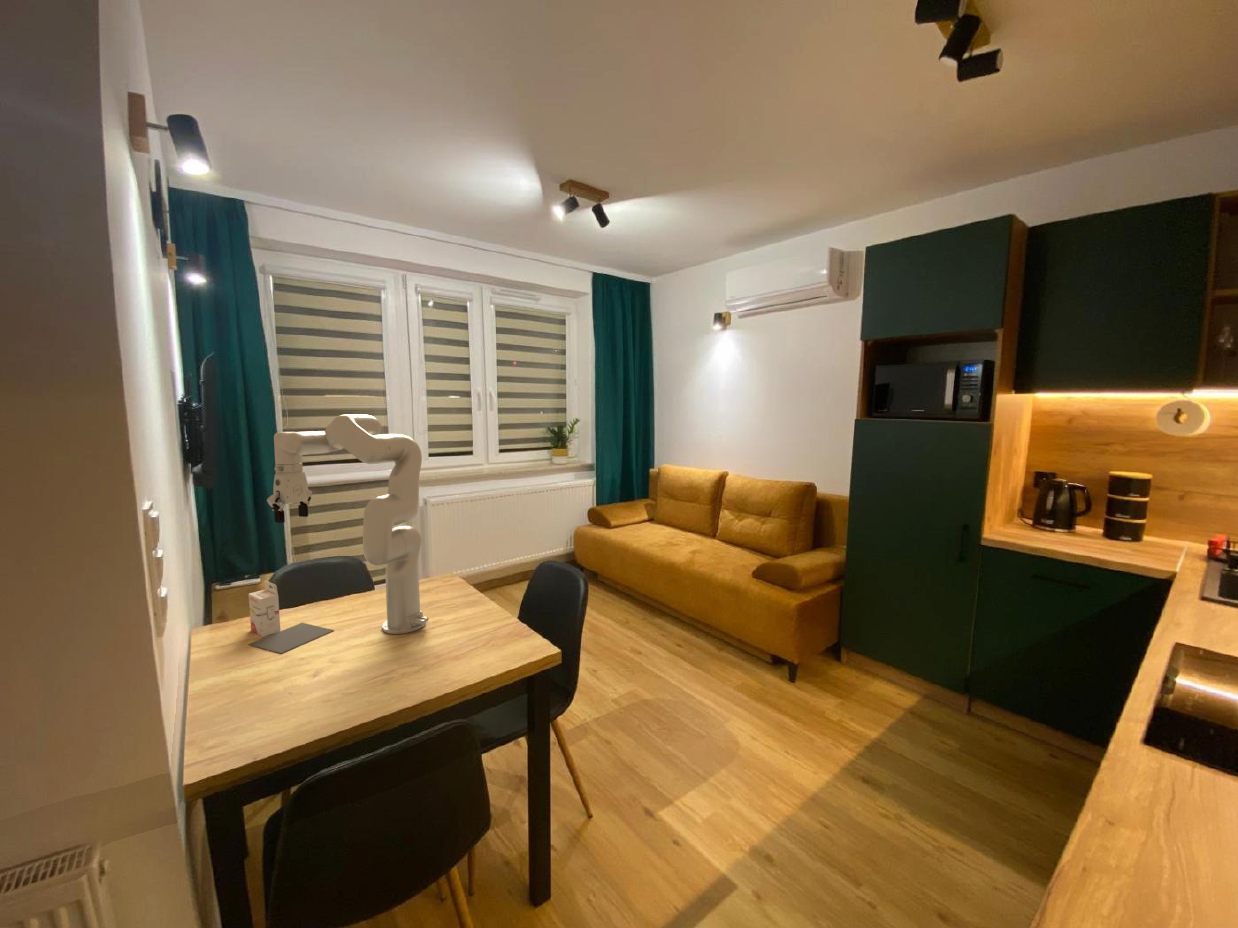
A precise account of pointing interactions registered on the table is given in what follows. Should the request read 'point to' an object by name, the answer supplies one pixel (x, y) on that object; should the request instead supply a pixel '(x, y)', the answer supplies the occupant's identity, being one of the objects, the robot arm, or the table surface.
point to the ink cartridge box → (265, 610)
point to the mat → (291, 638)
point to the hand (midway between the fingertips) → (292, 519)
